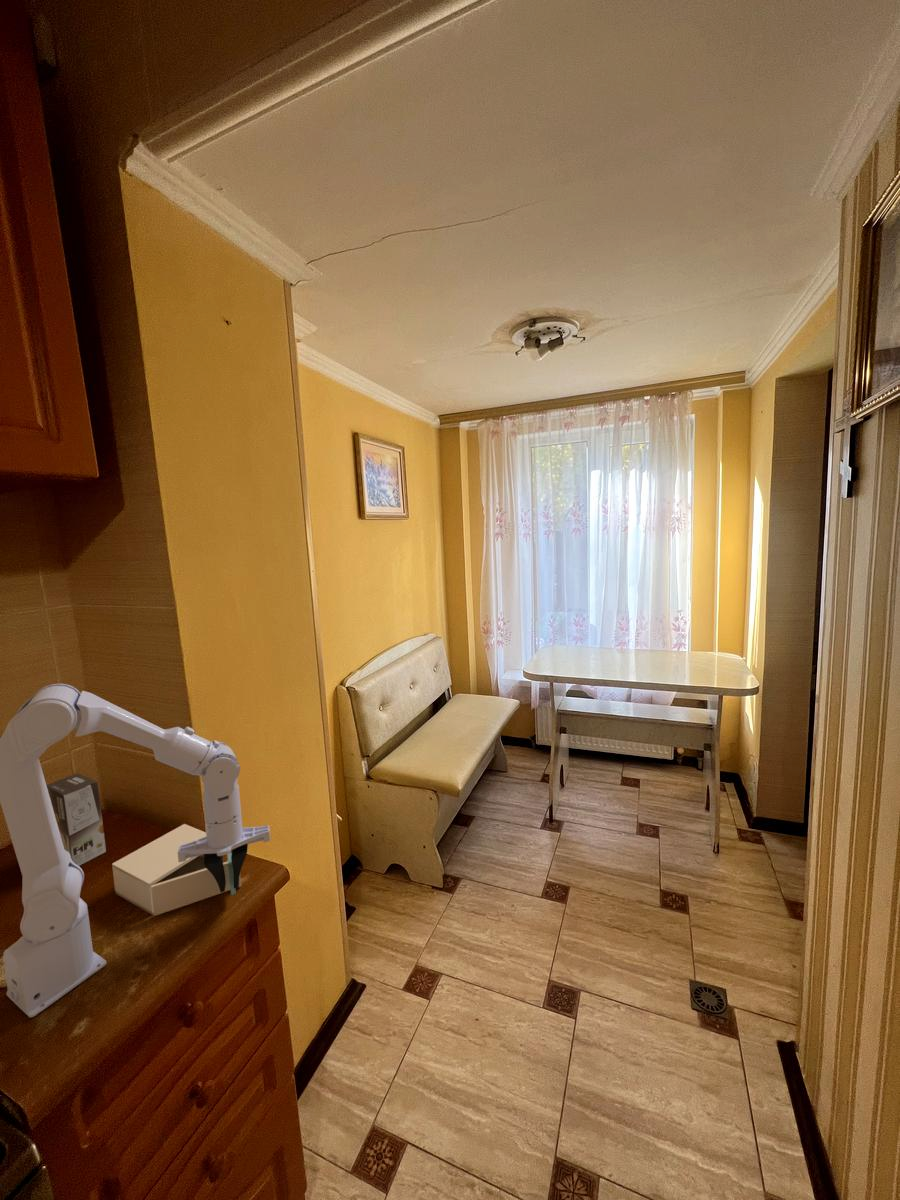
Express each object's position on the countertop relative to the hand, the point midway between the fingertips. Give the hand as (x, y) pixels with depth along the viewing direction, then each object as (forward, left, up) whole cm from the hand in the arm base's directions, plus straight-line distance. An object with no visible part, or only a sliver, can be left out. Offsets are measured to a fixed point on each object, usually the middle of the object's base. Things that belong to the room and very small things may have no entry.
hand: (229, 886), depth 83 cm
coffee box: (-5, +43, -4) cm, 44 cm away
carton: (-1, +17, -4) cm, 17 cm away
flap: (-3, +5, -4) cm, 7 cm away
